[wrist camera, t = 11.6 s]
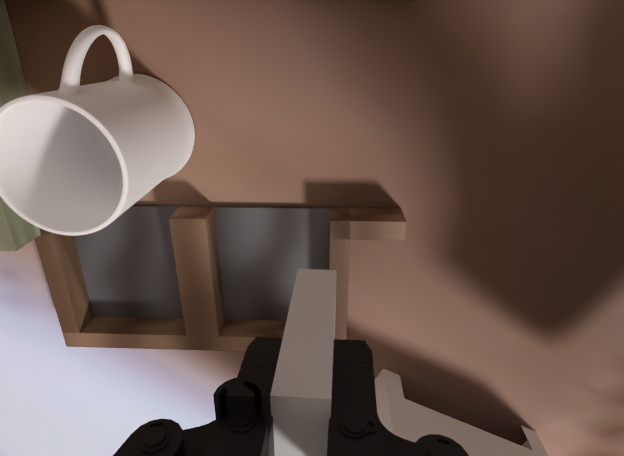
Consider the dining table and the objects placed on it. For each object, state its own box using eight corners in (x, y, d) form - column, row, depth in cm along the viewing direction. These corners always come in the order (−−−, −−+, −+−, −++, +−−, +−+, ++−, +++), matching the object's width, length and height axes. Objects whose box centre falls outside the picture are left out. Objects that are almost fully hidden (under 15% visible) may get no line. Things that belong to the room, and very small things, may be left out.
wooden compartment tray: (421, -32, 29) (442, -49, 24) (389, 334, 42) (398, 378, 36) (-25, -28, 31) (-103, -42, 25) (73, 326, 43) (36, 368, 37)
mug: (99, 13, 31) (-28, -3, 20) (212, 49, 32) (150, 54, 21) (86, 162, 36) (-22, 216, 25) (185, 192, 37) (122, 256, 26)
